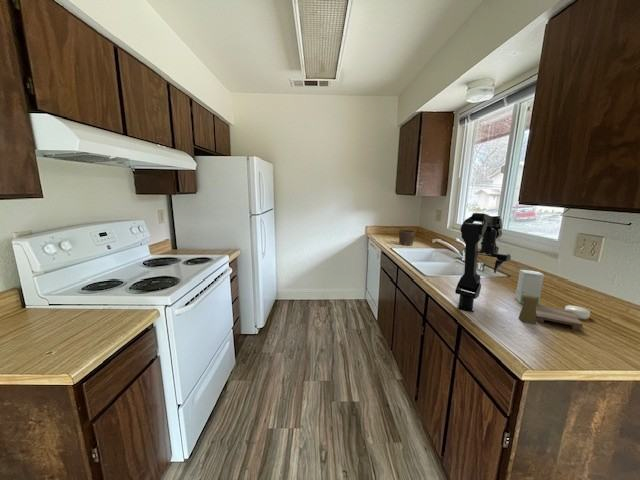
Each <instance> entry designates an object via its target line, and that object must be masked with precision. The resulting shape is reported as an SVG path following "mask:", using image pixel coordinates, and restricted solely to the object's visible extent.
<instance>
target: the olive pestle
mask: <svg viewBox="0 0 640 480" xmlns="http://www.w3.org/2000/svg"><path fill="white" fill-rule="evenodd" d="M523 302H524V303H522V307H521V310H520V312H519V316H518V320H519V321H521V322H523V323H526V324H531V325H536V324H537V317H536V305H537V304H538V302H539V303H540V300H539V301H538V298H537V297H535V296H531V295H525V296H524V297H523Z"/></svg>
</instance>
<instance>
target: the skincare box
mask: <svg viewBox="0 0 640 480" xmlns="http://www.w3.org/2000/svg"><path fill="white" fill-rule="evenodd" d="M518 274H519V275H518V280H517V285H516V290H515V295H514V296H515V298H514V299H515V300H516V301H517V302H518V303H519V304H523V303H524V302H523V297H524V296H525V295H531V296H535V297H537V298H538V301H539V302H538V304H537V305H540V299H541V294H542V290H543V289H542V288H543V284H544V280H545V279H544V278H545V274H543V273H542V272H540V271H537V270H536V271H534V270H530V269H529V270H527V269H519V272H518Z"/></svg>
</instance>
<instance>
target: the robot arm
mask: <svg viewBox="0 0 640 480" xmlns="http://www.w3.org/2000/svg"><path fill="white" fill-rule="evenodd" d="M502 220H503V219H502V218H501V216H500V215H499V214H497V215H495V214H487V213H484V212H473V213H472V214H471V216H469V217H468V218H466V219H464V221H463V223H462V224H461V227H460V233H461V239H462V241H463V242H464V243H465V246H464V247H465V248H464V249H465V250H464V271H463V272H464V273H463V275H461V276H460V278H459V281H458V283H457V285H456V288H455V291H454V292H455V294H456V295H459V299H458V302H457V306H456V308H457V310H463V311H468V312H472V313H474V311H475V310H474V309H475V306H474V300H476V299H477V298H480V297H479V296H480V293H481V289H482V284H481V275H480V274H478V273H477V265H478V264H477V263H478V255H480V256H484V257H485V256H487V257H489V258H490V257H491V258H496V260H495V263H494V269H493V273H494V274H496V273H497V272H498V270H499V268H500V267H501V266H502V264H503V263H505V262H508V261H511V258H512V256H511V254H510V253H504V252H500V253H499V249H500V247H499V246H497V242H496V241H497V239H500V238H501V237H502V236H503V231H502V229H503V221H502ZM475 222H476V223H475ZM480 241H481V242H480ZM479 242H480V245H481V246H480V250H479V249H478V248H479Z"/></svg>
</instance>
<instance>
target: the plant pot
mask: <svg viewBox="0 0 640 480" xmlns="http://www.w3.org/2000/svg"><path fill="white" fill-rule="evenodd" d="M416 232H417V231H415V230H412V229H411V230H410V229H398V238H399V241H398V242H399V245H400V246H405V247H412V246H413V243H414V239H415V235H416Z"/></svg>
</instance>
